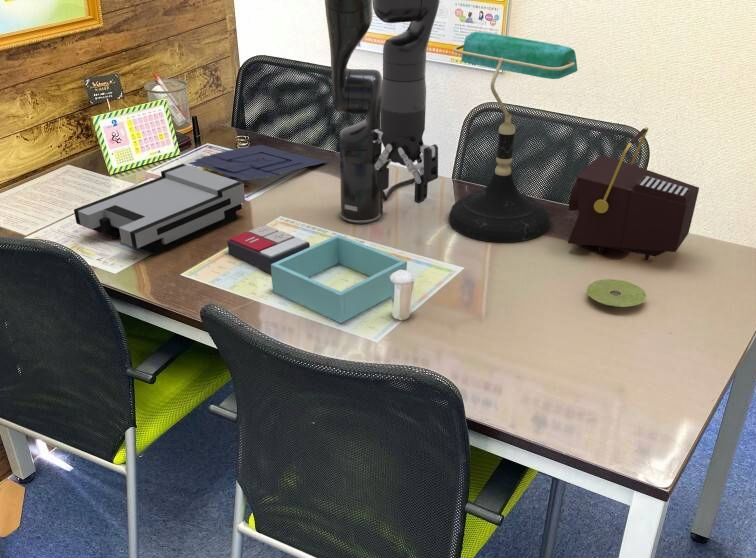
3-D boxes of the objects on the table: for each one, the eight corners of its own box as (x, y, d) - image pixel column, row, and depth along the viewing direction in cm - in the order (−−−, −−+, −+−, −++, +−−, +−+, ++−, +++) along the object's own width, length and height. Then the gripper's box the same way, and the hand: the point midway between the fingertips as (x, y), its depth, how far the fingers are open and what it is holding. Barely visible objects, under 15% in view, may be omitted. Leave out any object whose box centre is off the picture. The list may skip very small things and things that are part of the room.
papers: (182, 172, 224) (182, 158, 223) (260, 154, 246) (260, 141, 244) (251, 193, 212) (251, 178, 211) (327, 172, 234) (328, 158, 232)
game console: (79, 238, 194) (72, 204, 189) (186, 195, 215) (182, 163, 210) (139, 264, 184) (133, 228, 179) (246, 216, 204) (243, 183, 199)
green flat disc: (648, 293, 171) (650, 285, 170) (639, 319, 163) (641, 310, 162) (591, 283, 175) (593, 274, 174) (579, 308, 167) (581, 299, 166)
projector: (584, 225, 199) (601, 116, 184) (687, 247, 189) (714, 133, 174) (559, 252, 187) (575, 138, 173) (668, 277, 177) (694, 157, 163)
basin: (338, 260, 184) (337, 234, 181) (406, 288, 174) (407, 261, 170) (272, 291, 173) (270, 264, 170) (341, 323, 162) (340, 295, 159)
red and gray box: (265, 222, 192) (310, 239, 183) (267, 240, 194) (311, 258, 185) (225, 237, 186) (270, 255, 176) (228, 256, 188) (272, 274, 179)
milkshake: (383, 310, 166) (384, 263, 161) (411, 309, 167) (413, 262, 161) (386, 322, 163) (387, 274, 157) (414, 321, 163) (416, 273, 157)
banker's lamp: (573, 221, 201) (600, 39, 178) (521, 254, 186) (543, 60, 163) (478, 193, 215) (491, 21, 192) (422, 222, 200) (430, 40, 177)
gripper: (450, 107, 143) (445, 199, 153) (385, 90, 151) (384, 179, 160) (422, 118, 139) (418, 212, 148) (356, 100, 146) (357, 191, 156)
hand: (401, 195), depth 154 cm, fingers open, 8 cm apart
